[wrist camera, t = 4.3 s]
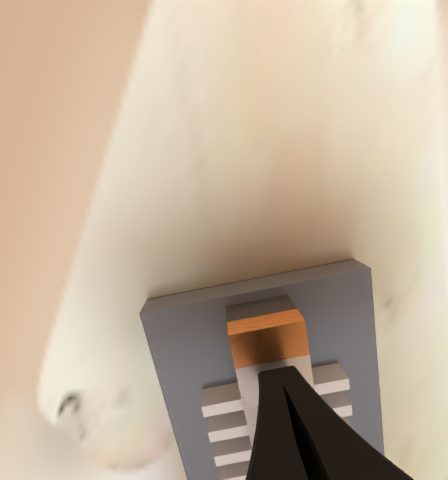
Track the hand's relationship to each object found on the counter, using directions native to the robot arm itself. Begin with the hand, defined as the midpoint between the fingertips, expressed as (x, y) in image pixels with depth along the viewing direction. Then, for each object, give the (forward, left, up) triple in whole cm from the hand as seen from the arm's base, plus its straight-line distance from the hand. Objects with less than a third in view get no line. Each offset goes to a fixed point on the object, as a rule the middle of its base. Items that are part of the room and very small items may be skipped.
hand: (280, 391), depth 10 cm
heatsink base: (-4, 0, -5) cm, 6 cm away
